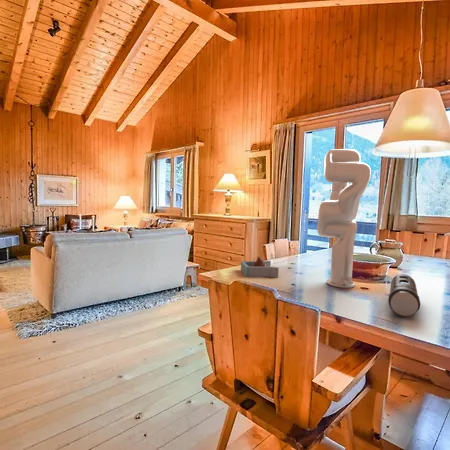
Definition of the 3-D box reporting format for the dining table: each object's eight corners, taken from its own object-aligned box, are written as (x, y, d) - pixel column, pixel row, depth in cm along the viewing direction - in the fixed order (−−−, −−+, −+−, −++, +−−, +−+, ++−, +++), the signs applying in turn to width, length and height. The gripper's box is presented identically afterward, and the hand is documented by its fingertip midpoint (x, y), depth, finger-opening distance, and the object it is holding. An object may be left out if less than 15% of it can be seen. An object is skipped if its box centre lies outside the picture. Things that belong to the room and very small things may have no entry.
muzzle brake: (415, 300, 128) (417, 275, 127) (419, 323, 103) (421, 292, 103) (389, 296, 132) (391, 272, 132) (386, 317, 108) (389, 288, 107)
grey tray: (279, 277, 158) (279, 267, 158) (246, 277, 156) (246, 267, 156) (269, 269, 176) (269, 260, 176) (240, 269, 174) (240, 260, 174)
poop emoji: (248, 274, 162) (248, 257, 162) (252, 271, 171) (252, 254, 170) (267, 277, 159) (268, 258, 158) (270, 273, 167) (271, 256, 167)
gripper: (349, 190, 175) (347, 223, 177) (324, 189, 173) (322, 222, 175) (357, 190, 168) (354, 224, 169) (330, 189, 166) (328, 223, 167)
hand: (338, 223), depth 172 cm, fingers closed
